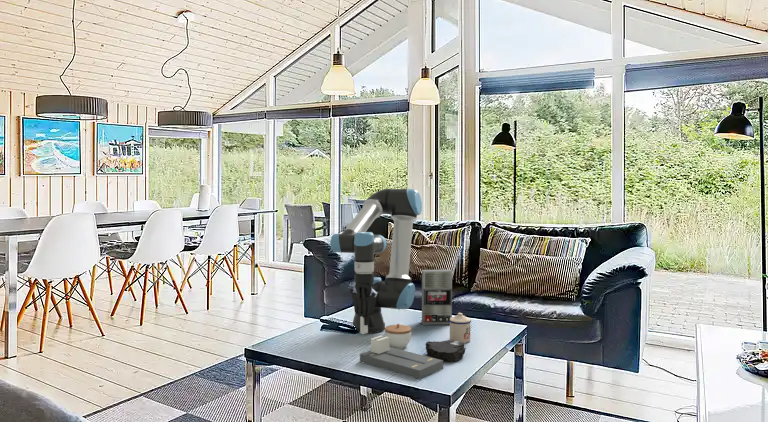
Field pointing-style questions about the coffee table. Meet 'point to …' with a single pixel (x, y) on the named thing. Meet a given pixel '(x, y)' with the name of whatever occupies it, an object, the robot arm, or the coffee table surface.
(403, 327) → the lidded jar
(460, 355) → the rock sample
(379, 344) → the fader knob
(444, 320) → the cassette tape recorder
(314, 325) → the coffee table surface
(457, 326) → the teacup with lid
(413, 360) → the fader console
